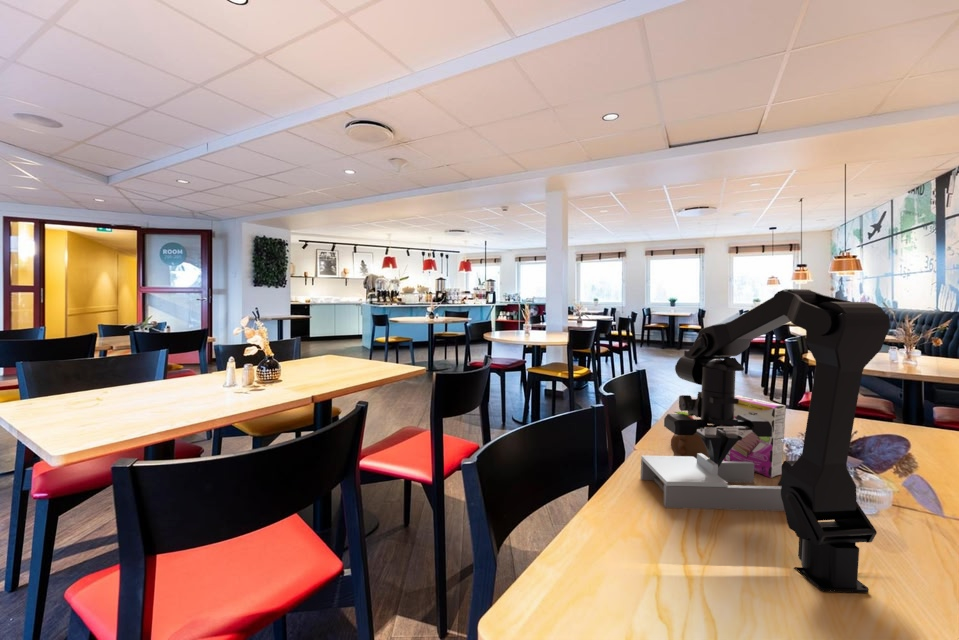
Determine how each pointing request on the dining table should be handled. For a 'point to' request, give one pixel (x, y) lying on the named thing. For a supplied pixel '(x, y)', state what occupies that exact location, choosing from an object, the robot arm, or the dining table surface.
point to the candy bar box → (760, 449)
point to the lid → (685, 470)
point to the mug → (688, 445)
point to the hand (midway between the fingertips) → (715, 466)
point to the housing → (721, 491)
